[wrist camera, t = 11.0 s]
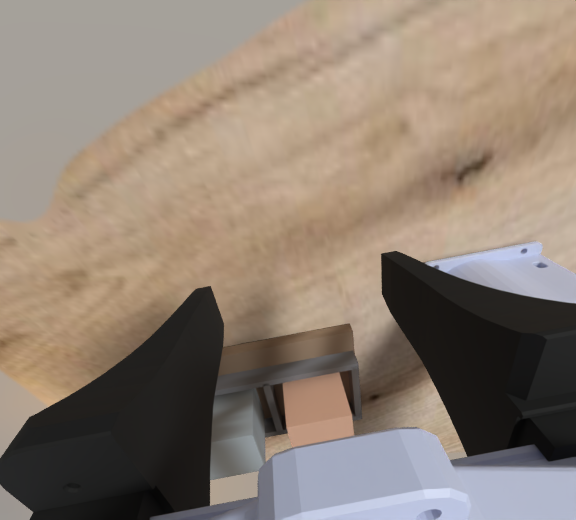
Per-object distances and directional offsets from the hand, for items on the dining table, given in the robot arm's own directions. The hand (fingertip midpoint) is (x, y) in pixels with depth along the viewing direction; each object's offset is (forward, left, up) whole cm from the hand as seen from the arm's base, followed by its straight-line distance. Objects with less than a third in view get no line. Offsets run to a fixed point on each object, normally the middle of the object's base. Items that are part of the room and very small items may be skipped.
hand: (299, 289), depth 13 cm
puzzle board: (+4, +17, -9) cm, 20 cm away
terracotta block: (0, +17, -8) cm, 19 cm away
